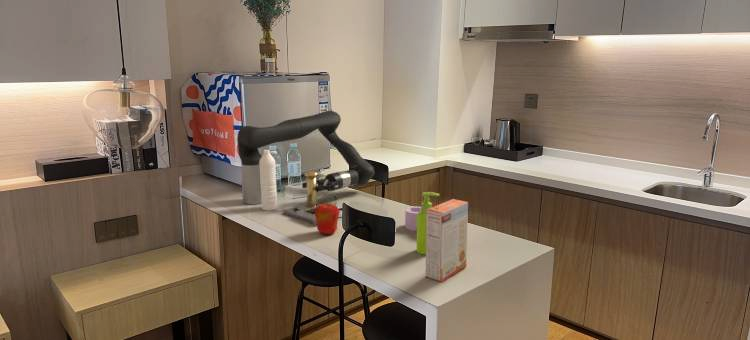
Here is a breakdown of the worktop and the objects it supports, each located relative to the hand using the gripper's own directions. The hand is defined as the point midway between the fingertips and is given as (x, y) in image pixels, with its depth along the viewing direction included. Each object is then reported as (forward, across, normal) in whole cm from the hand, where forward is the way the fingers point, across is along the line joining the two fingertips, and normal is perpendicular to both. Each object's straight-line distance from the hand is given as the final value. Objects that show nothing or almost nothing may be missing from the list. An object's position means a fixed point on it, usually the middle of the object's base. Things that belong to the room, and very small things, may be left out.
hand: (309, 187), depth 210 cm
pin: (-1, 0, +9) cm, 9 cm away
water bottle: (+12, -11, +9) cm, 19 cm away
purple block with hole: (-14, +54, +9) cm, 56 cm away
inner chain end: (+8, +8, +9) cm, 14 cm away
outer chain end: (+8, +14, +9) cm, 18 cm away
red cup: (+15, +28, +9) cm, 33 cm away
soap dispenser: (+4, +65, +9) cm, 66 cm away
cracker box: (+13, +79, +9) cm, 81 cm away
